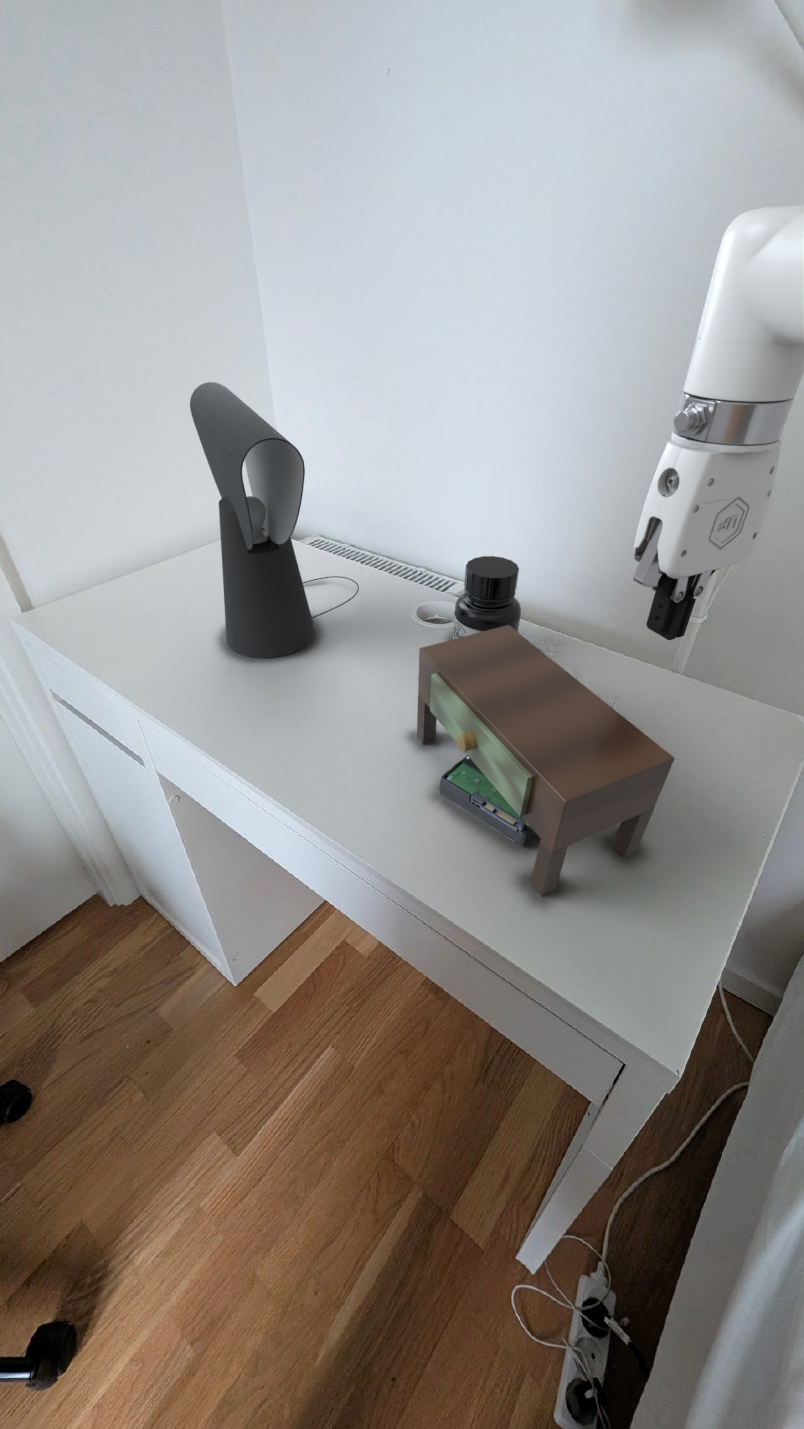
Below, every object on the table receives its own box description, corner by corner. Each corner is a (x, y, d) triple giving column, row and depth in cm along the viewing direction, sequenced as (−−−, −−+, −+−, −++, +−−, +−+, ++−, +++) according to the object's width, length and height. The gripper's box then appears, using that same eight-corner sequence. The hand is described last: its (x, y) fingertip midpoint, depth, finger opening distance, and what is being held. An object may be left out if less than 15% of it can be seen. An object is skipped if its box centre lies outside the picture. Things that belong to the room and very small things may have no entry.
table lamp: (124, 605, 91) (52, 389, 72) (265, 550, 108) (236, 364, 89) (292, 707, 71) (253, 445, 52) (433, 621, 87) (443, 398, 69)
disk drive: (516, 728, 68) (437, 795, 59) (519, 709, 66) (438, 776, 58) (597, 768, 63) (523, 850, 54) (603, 749, 61) (528, 830, 52)
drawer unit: (636, 851, 54) (675, 757, 46) (523, 904, 50) (546, 810, 42) (496, 710, 70) (508, 624, 63) (402, 740, 66) (403, 652, 59)
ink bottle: (441, 634, 84) (445, 556, 77) (495, 624, 87) (505, 547, 79) (470, 670, 77) (477, 588, 70) (528, 658, 80) (541, 577, 72)
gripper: (697, 443, 39) (633, 671, 50) (838, 420, 44) (751, 631, 55) (618, 422, 44) (576, 632, 55) (752, 404, 49) (689, 600, 61)
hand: (664, 631), depth 55 cm, fingers closed
